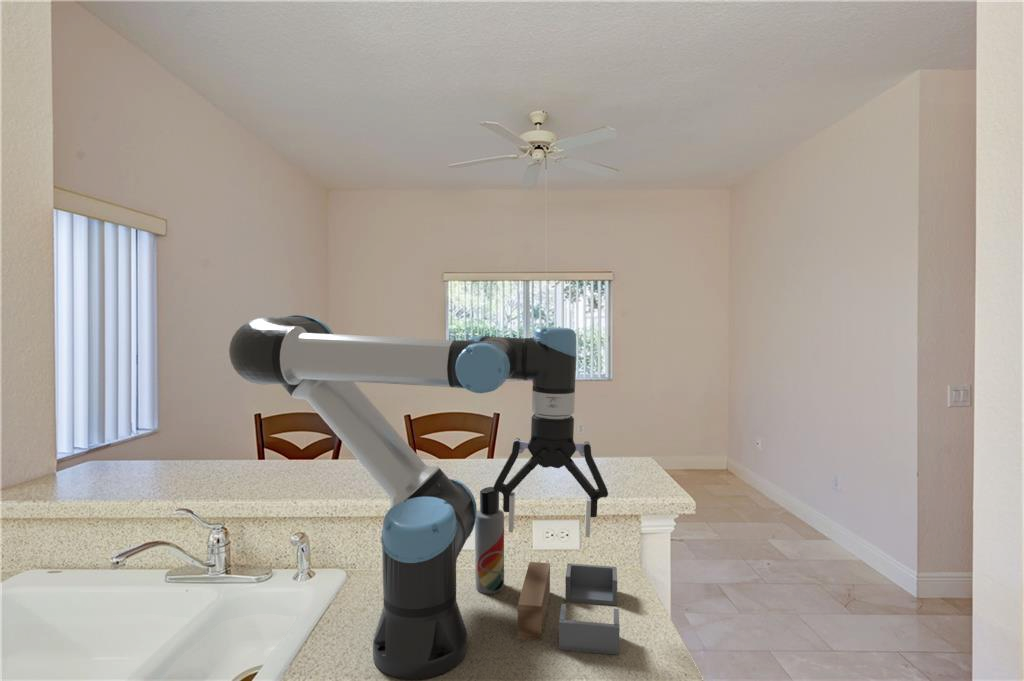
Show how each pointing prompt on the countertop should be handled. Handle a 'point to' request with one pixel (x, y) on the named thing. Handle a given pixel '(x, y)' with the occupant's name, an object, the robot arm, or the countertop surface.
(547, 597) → the slat
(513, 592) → the countertop surface
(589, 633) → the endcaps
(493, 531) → the lotion bottle
